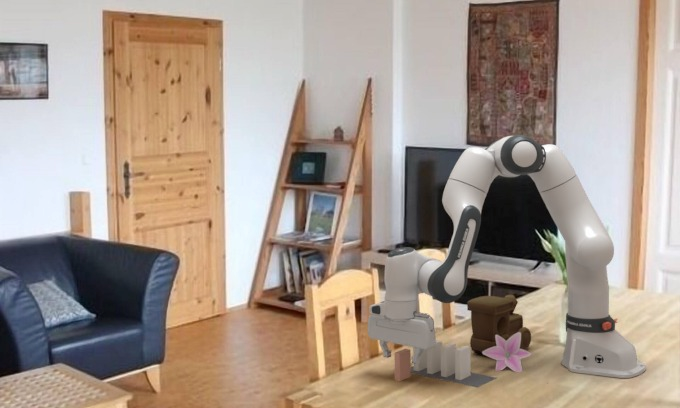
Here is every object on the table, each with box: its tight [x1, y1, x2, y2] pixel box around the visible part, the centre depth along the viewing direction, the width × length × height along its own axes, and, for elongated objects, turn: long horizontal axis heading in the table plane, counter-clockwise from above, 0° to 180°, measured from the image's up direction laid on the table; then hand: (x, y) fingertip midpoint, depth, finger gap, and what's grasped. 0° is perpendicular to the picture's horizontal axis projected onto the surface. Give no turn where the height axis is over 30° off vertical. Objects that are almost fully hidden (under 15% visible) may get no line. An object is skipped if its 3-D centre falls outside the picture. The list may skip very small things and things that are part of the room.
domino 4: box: [441, 342, 457, 377], centre depth 249 cm, size 2×5×8 cm, turn 140°
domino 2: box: [412, 347, 427, 371], centre depth 255 cm, size 2×5×8 cm, turn 140°
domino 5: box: [455, 345, 472, 380], centre depth 246 cm, size 2×5×8 cm, turn 140°
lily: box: [481, 332, 532, 373], centre depth 255 cm, size 12×12×10 cm
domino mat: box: [411, 365, 497, 388], centre depth 249 cm, size 24×10×1 cm, turn 50°
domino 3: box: [427, 339, 443, 374], centre depth 252 cm, size 2×5×8 cm, turn 140°
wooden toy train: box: [466, 294, 532, 354], centre depth 271 cm, size 20×11×17 cm, turn 138°
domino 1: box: [394, 348, 412, 382], centre depth 246 cm, size 2×5×8 cm, turn 140°
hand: (401, 360), depth 246 cm, fingers open, 8 cm apart
